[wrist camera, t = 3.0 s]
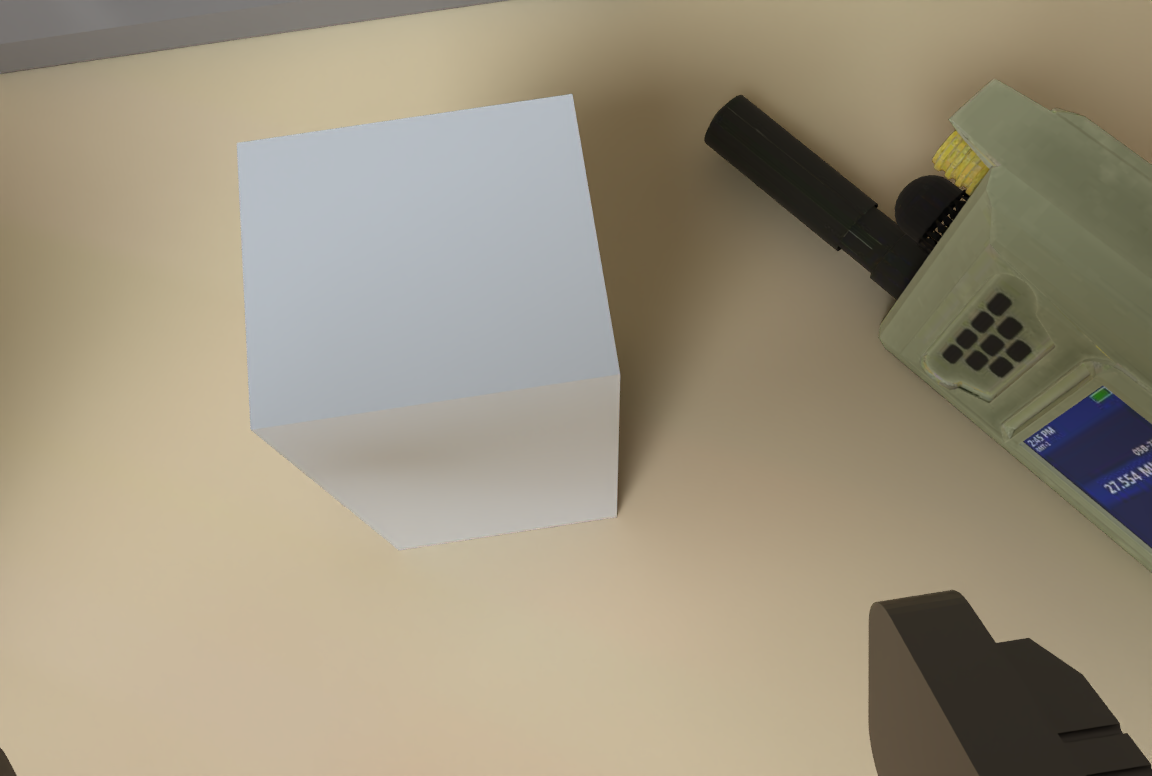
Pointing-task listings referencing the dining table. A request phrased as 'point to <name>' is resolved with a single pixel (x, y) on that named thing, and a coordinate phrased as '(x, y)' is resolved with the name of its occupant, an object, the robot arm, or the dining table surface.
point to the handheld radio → (1006, 284)
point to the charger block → (434, 320)
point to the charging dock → (169, 24)
